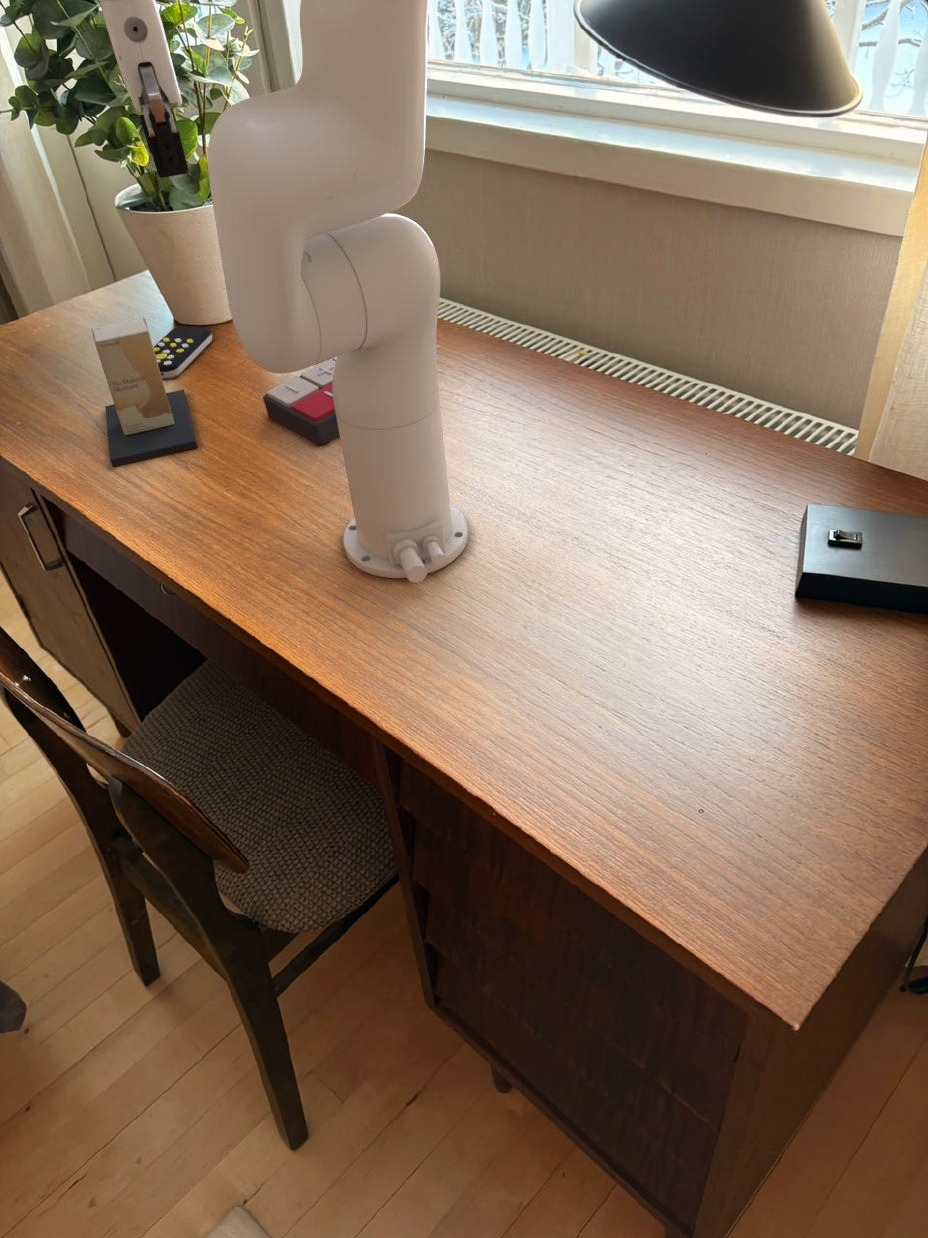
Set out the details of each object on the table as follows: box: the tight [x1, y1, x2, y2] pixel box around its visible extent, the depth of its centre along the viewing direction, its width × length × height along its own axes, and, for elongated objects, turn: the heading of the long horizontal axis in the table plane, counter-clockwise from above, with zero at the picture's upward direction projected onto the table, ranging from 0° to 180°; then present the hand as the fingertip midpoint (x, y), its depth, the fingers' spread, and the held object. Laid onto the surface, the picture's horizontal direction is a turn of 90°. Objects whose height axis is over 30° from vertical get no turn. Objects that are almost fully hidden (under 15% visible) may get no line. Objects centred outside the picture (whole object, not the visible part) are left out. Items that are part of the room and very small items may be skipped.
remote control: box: [153, 326, 213, 380], centre depth 131 cm, size 6×13×2 cm, turn 166°
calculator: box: [262, 357, 340, 447], centre depth 116 cm, size 11×4×15 cm
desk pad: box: [104, 389, 199, 468], centre depth 116 cm, size 14×10×1 cm
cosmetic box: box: [91, 317, 174, 435], centre depth 112 cm, size 6×4×12 cm
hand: (169, 162), depth 103 cm, fingers open, 9 cm apart
